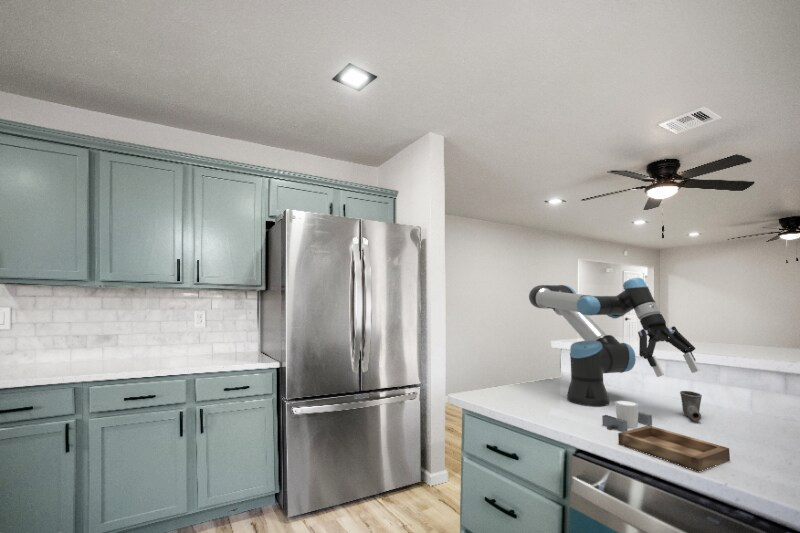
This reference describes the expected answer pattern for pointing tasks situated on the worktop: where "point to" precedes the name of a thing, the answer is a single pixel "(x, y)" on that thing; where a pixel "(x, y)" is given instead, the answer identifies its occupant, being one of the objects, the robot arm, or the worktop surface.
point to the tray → (675, 447)
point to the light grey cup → (627, 412)
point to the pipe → (691, 404)
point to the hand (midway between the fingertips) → (678, 373)
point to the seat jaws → (624, 421)
